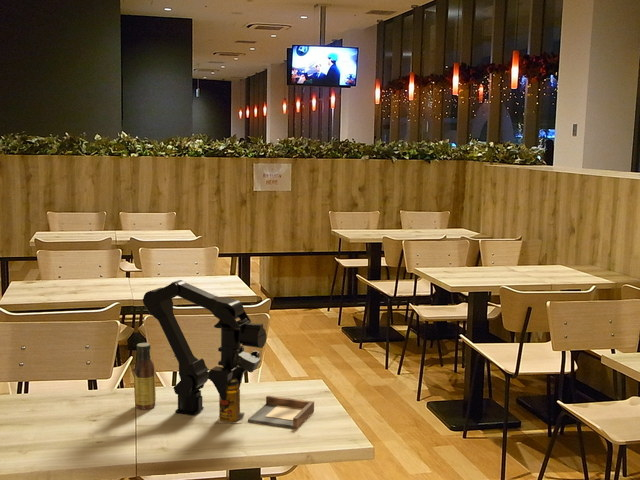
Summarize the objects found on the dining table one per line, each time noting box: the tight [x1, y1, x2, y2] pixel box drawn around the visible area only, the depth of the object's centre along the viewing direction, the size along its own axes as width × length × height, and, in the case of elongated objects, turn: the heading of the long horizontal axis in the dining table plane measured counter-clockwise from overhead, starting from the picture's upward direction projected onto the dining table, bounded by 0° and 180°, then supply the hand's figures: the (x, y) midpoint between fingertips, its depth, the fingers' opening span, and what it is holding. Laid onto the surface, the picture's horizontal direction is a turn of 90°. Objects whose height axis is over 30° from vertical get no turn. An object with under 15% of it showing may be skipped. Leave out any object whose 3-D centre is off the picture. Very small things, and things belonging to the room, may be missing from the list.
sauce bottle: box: [133, 342, 157, 410], centre depth 240 cm, size 7×6×20 cm
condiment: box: [215, 378, 246, 424], centre depth 233 cm, size 7×8×12 cm
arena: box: [247, 395, 315, 430], centre depth 236 cm, size 15×15×3 cm
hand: (230, 395), depth 233 cm, fingers open, 9 cm apart
